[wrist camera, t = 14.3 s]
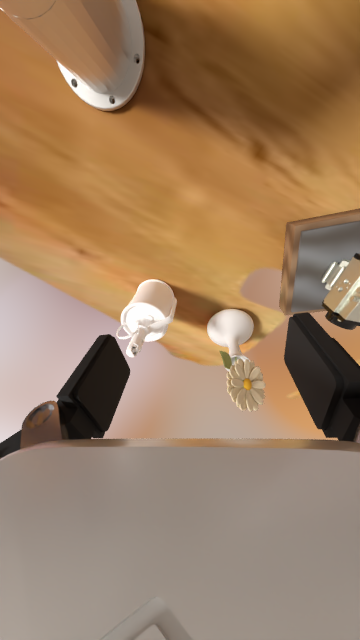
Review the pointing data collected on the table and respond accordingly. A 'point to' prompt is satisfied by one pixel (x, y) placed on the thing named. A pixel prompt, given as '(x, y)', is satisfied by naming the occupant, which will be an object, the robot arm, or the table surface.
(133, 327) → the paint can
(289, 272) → the stand
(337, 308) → the pneumatic valve
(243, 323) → the flower in vase
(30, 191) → the table surface
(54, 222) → the table surface
